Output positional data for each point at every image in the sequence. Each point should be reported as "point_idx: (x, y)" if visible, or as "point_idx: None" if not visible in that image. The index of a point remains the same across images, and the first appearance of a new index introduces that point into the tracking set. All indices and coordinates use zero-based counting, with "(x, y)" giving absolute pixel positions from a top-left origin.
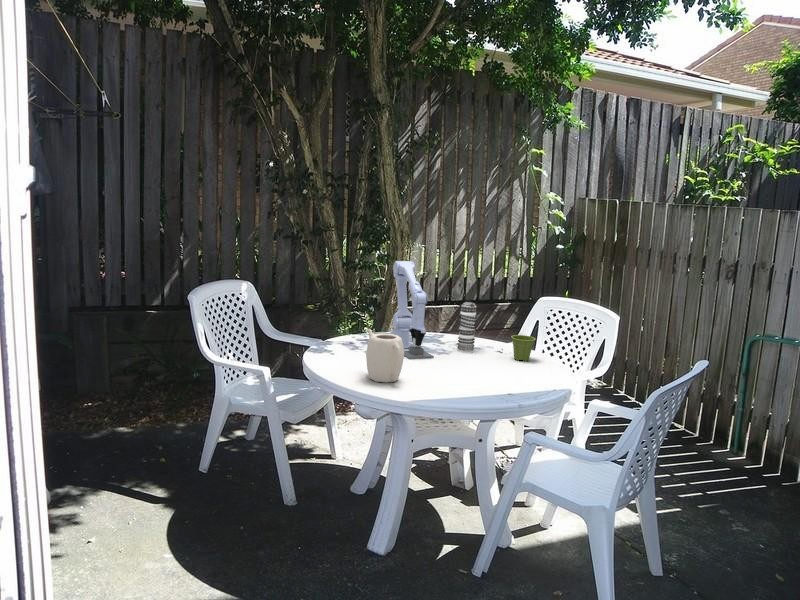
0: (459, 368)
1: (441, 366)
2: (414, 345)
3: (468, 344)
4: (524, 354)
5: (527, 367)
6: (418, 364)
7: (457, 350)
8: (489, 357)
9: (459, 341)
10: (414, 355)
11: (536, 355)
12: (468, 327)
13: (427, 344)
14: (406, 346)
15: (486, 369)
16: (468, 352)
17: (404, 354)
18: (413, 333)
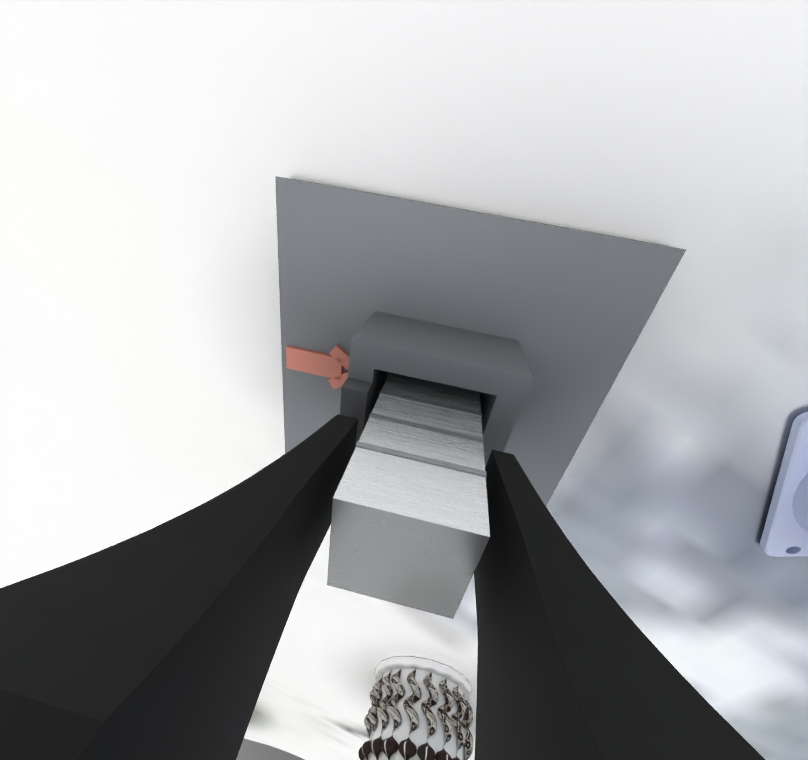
0: (2, 426)
1: (24, 345)
2: (400, 409)
3: (372, 737)
4: None
5: None
6: (45, 154)
7: (446, 668)
8: (270, 664)
9: (419, 753)
10: (351, 312)
11: (279, 747)
12: None
13: (727, 669)
14: (804, 495)
15: (26, 527)
16: (377, 669)
17: (447, 207)
18: (535, 694)
